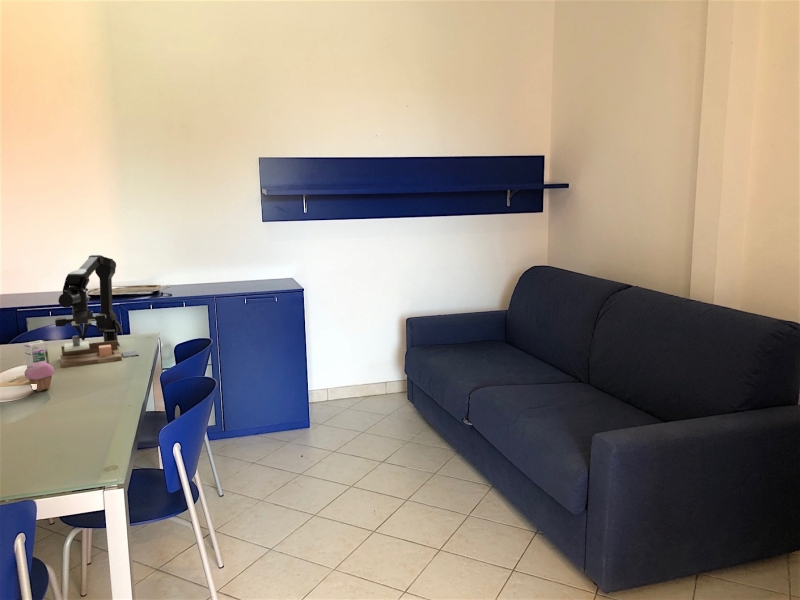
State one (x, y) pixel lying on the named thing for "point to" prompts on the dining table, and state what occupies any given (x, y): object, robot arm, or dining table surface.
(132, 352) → the grey pad
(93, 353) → the walnut board
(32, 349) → the syrup box
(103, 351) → the terracotta block
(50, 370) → the cupcake
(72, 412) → the dining table surface
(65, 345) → the sliding cover
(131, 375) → the dining table surface
